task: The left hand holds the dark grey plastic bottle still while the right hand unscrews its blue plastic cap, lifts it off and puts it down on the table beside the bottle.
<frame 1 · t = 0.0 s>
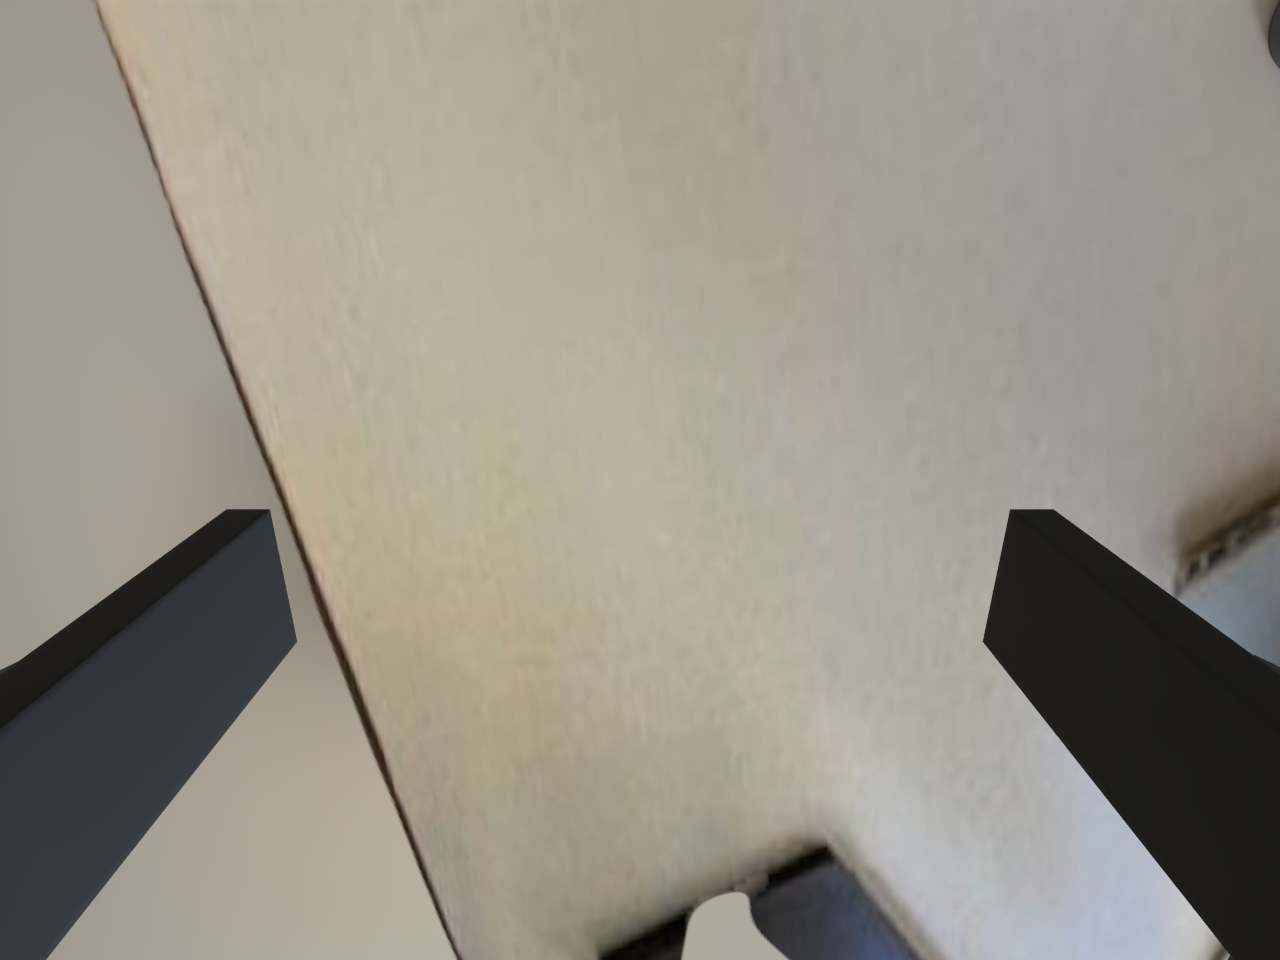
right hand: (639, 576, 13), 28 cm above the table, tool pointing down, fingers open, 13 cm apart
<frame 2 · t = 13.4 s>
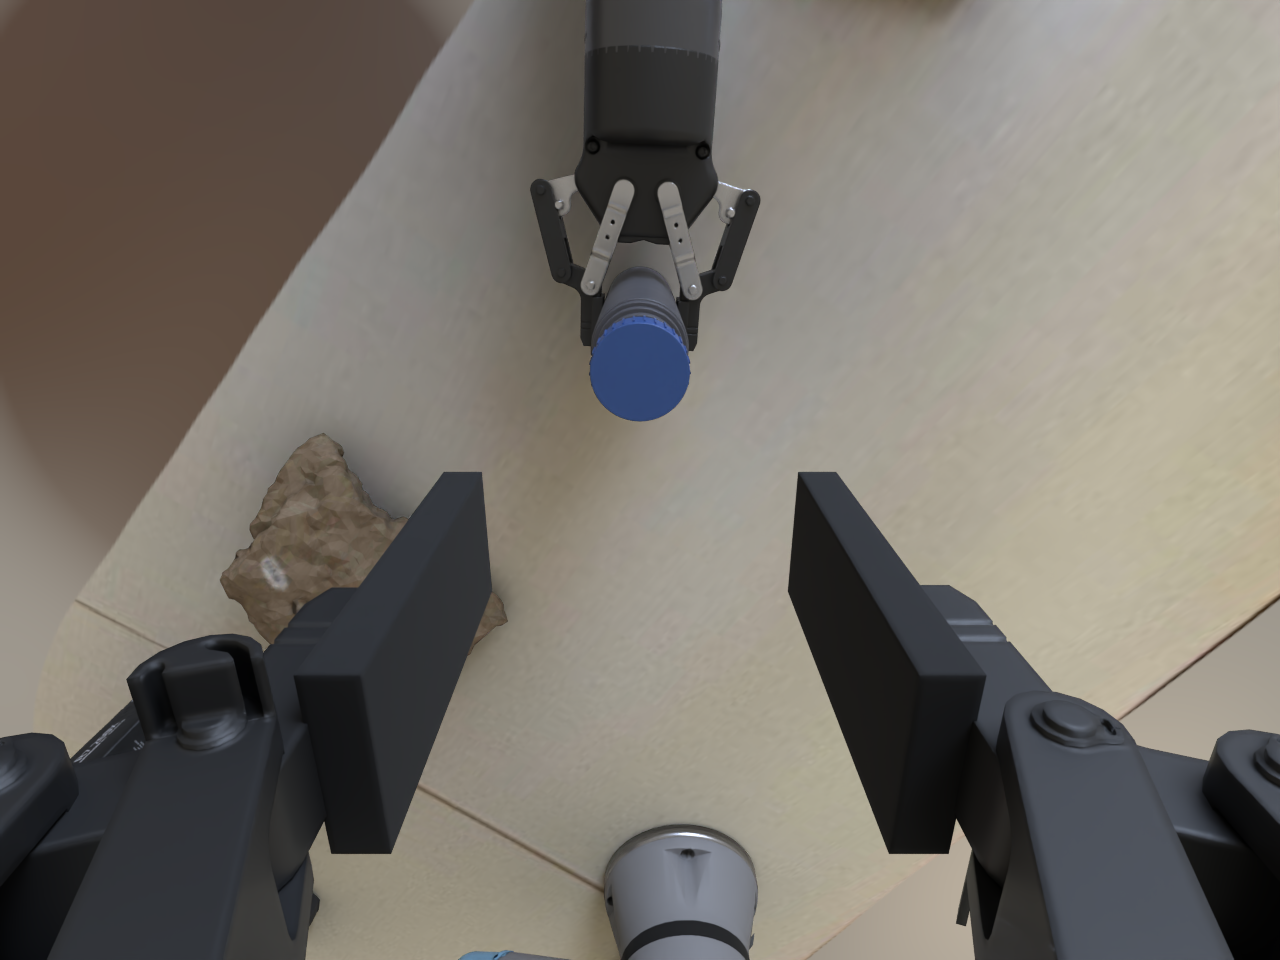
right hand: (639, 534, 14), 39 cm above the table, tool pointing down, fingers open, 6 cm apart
left hand: (638, 354, 46), fingers closed on bottle, 4 cm apart
cap: (639, 371, 29), point 24 cm above the table, screwed on, not yet turned
graphics card box: (235, 734, 65), on the table
stone: (376, 566, 59), on the table
bottle: (640, 300, 51), on the table, touching left hand
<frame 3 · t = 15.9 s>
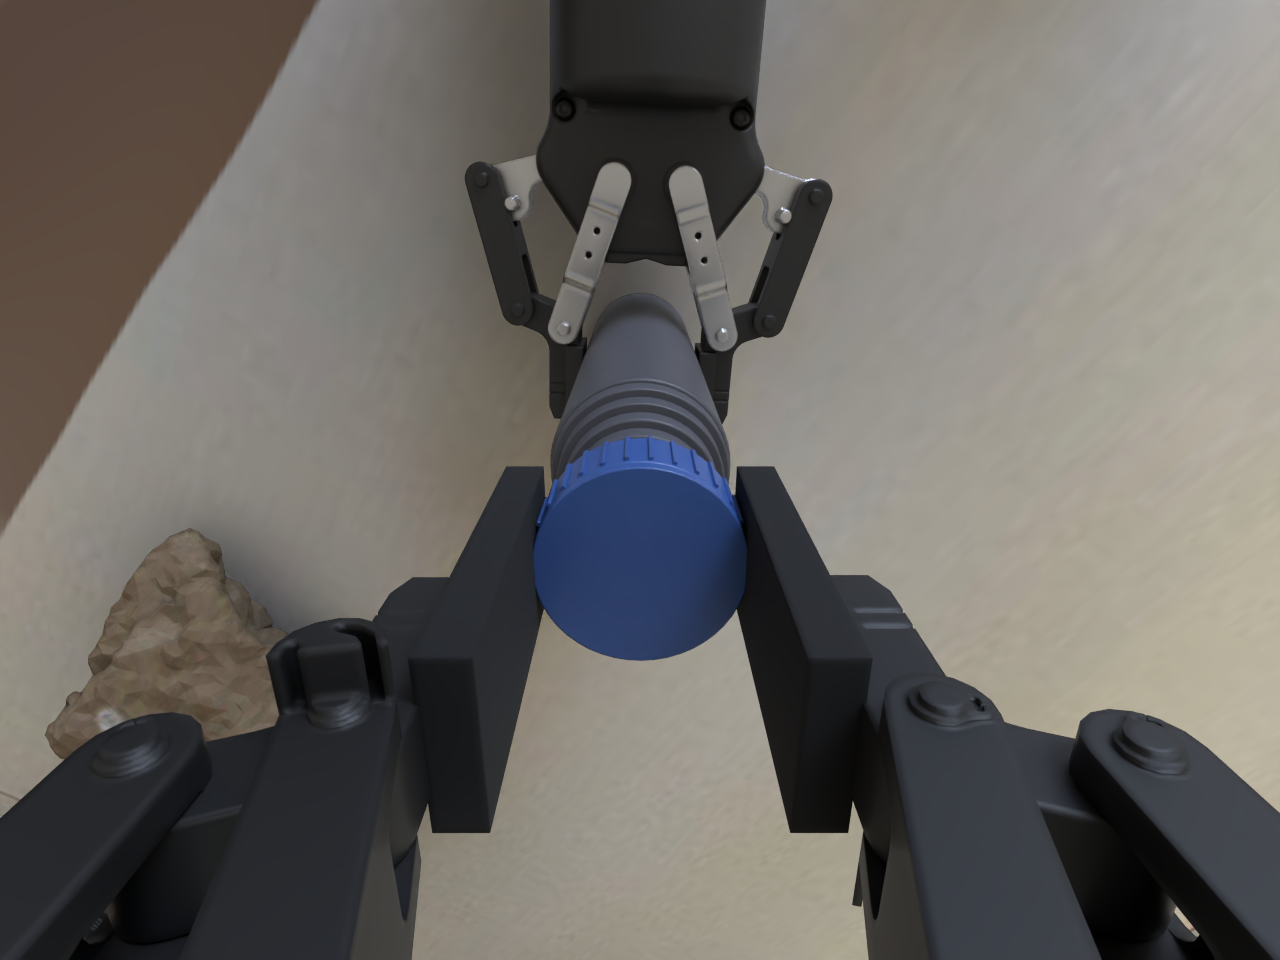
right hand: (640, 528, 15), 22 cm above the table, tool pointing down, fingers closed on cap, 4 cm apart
left hand: (638, 428, 30), fingers closed on bottle, 4 cm apart
cap: (640, 562, 13), point 24 cm above the table, screwed on, not yet turned, touching right hand
stone: (282, 694, 43), on the table
bottle: (640, 340, 35), on the table, touching left hand
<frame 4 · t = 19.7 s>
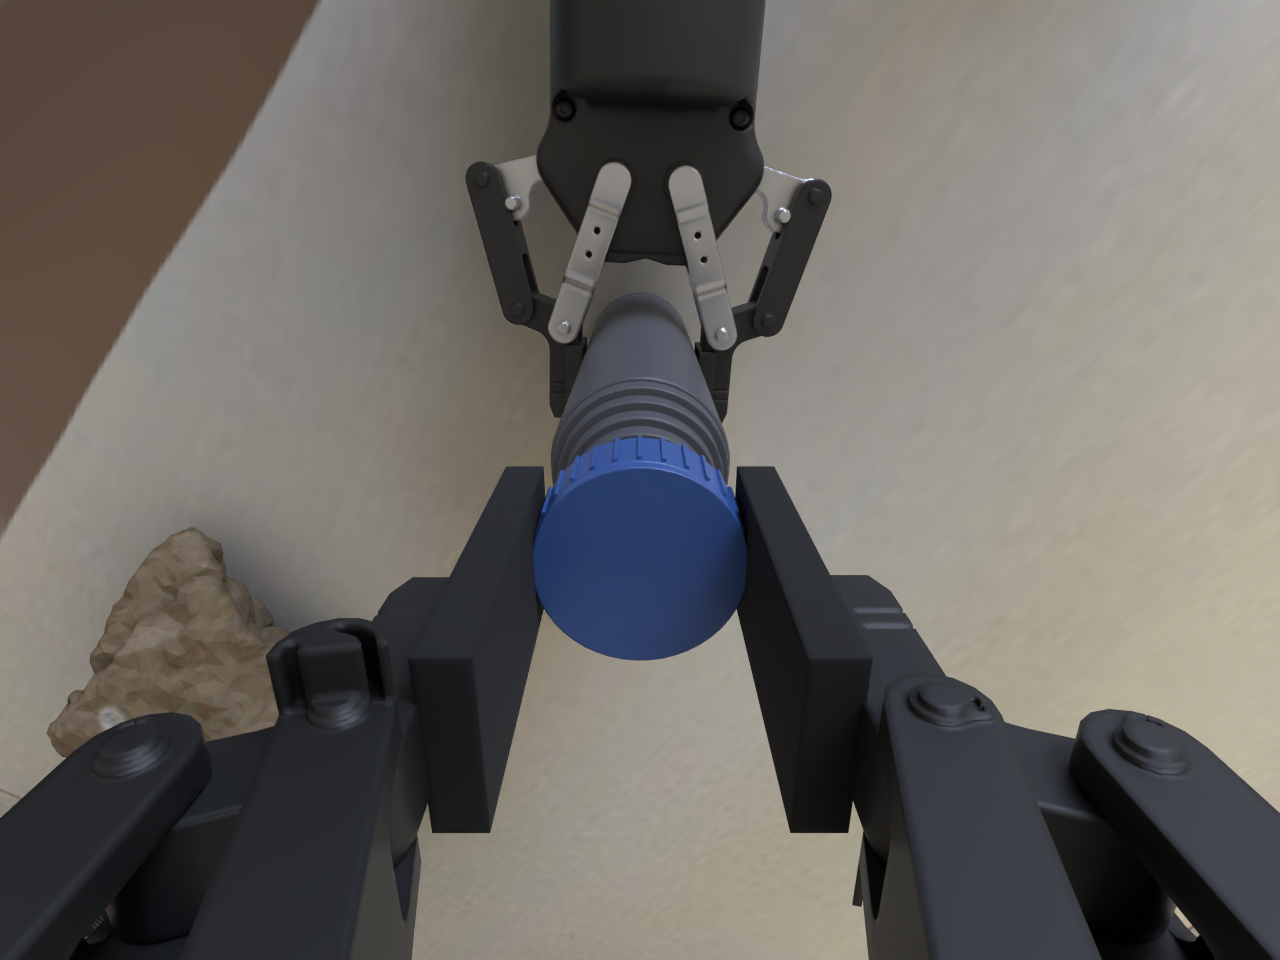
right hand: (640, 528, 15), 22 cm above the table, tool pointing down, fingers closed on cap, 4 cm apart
left hand: (638, 427, 30), fingers closed on bottle, 4 cm apart
cap: (640, 561, 13), point 24 cm above the table, turned 117° so far, risen 0.1 cm, still on its thread, touching right hand
stone: (283, 693, 43), on the table
bottle: (640, 340, 35), on the table, touching left hand
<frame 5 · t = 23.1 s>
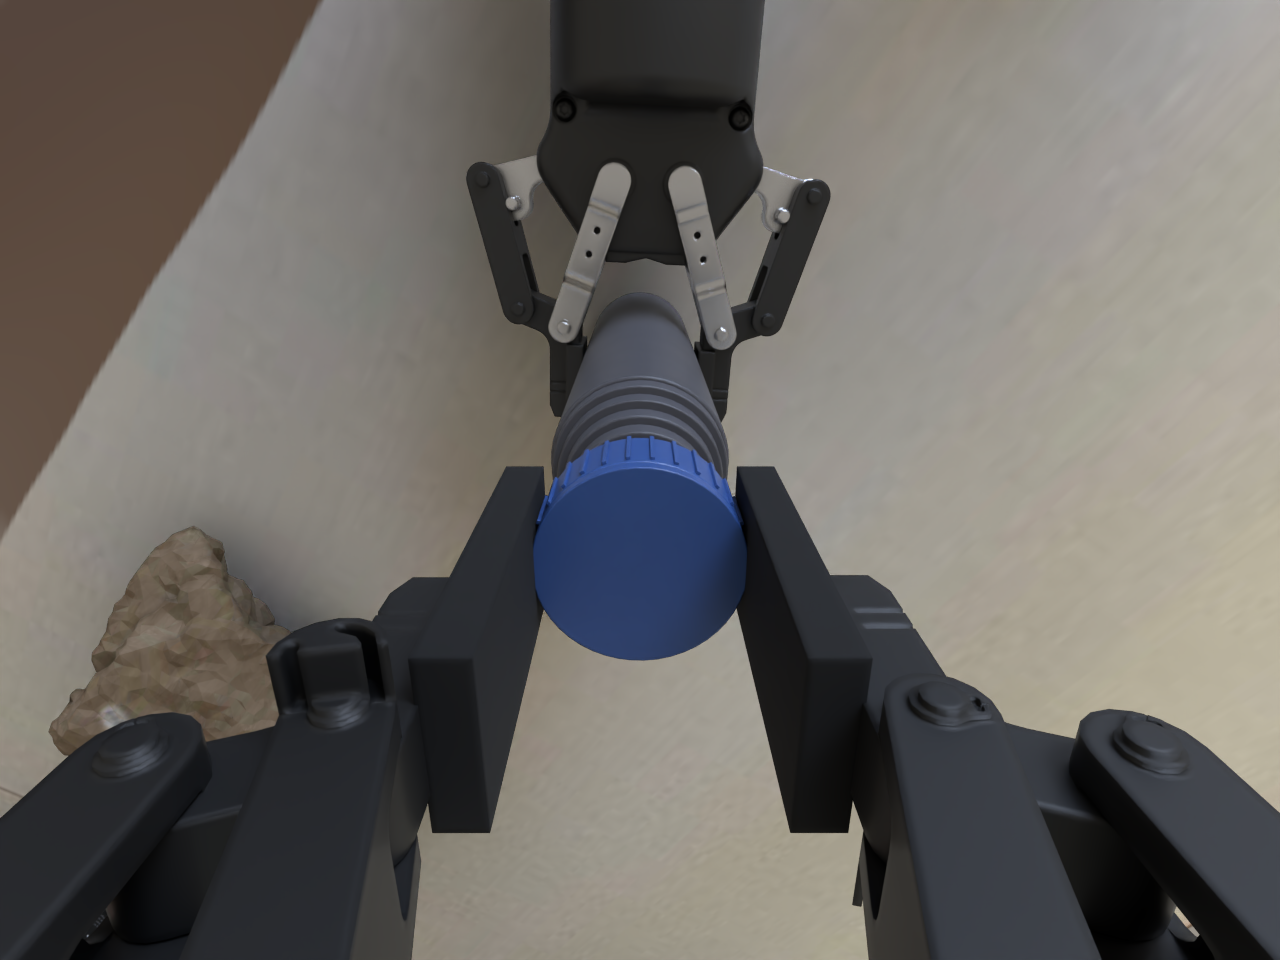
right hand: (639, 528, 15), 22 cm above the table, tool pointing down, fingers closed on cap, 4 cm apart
left hand: (637, 427, 31), fingers closed on bottle, 4 cm apart
cap: (639, 562, 13), point 24 cm above the table, turned 235° so far, risen 0.3 cm, still on its thread, touching right hand
stone: (284, 692, 43), on the table
bottle: (640, 339, 36), on the table, touching left hand
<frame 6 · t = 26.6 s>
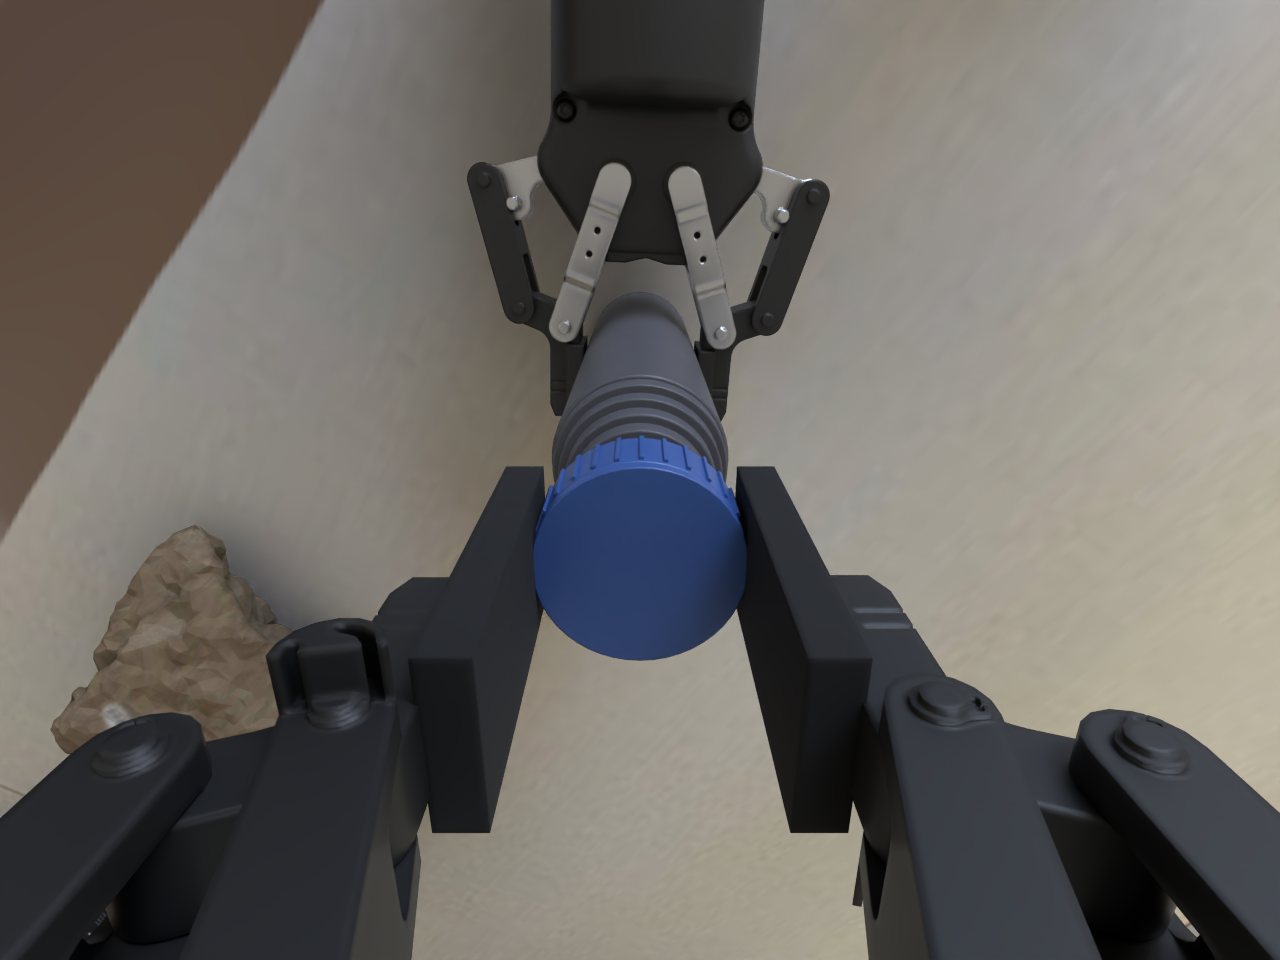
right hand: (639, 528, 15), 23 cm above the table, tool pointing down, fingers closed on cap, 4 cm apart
left hand: (638, 426, 31), fingers closed on bottle, 4 cm apart
cap: (640, 562, 13), point 24 cm above the table, turned 352° so far, risen 0.4 cm, still on its thread, touching right hand
stone: (285, 690, 43), on the table
bottle: (640, 339, 36), on the table, touching left hand
when the right hand's fingers open (2 cm above the table, at t = 35.3 s): cap drops 2 cm, point 1 cm above the table.
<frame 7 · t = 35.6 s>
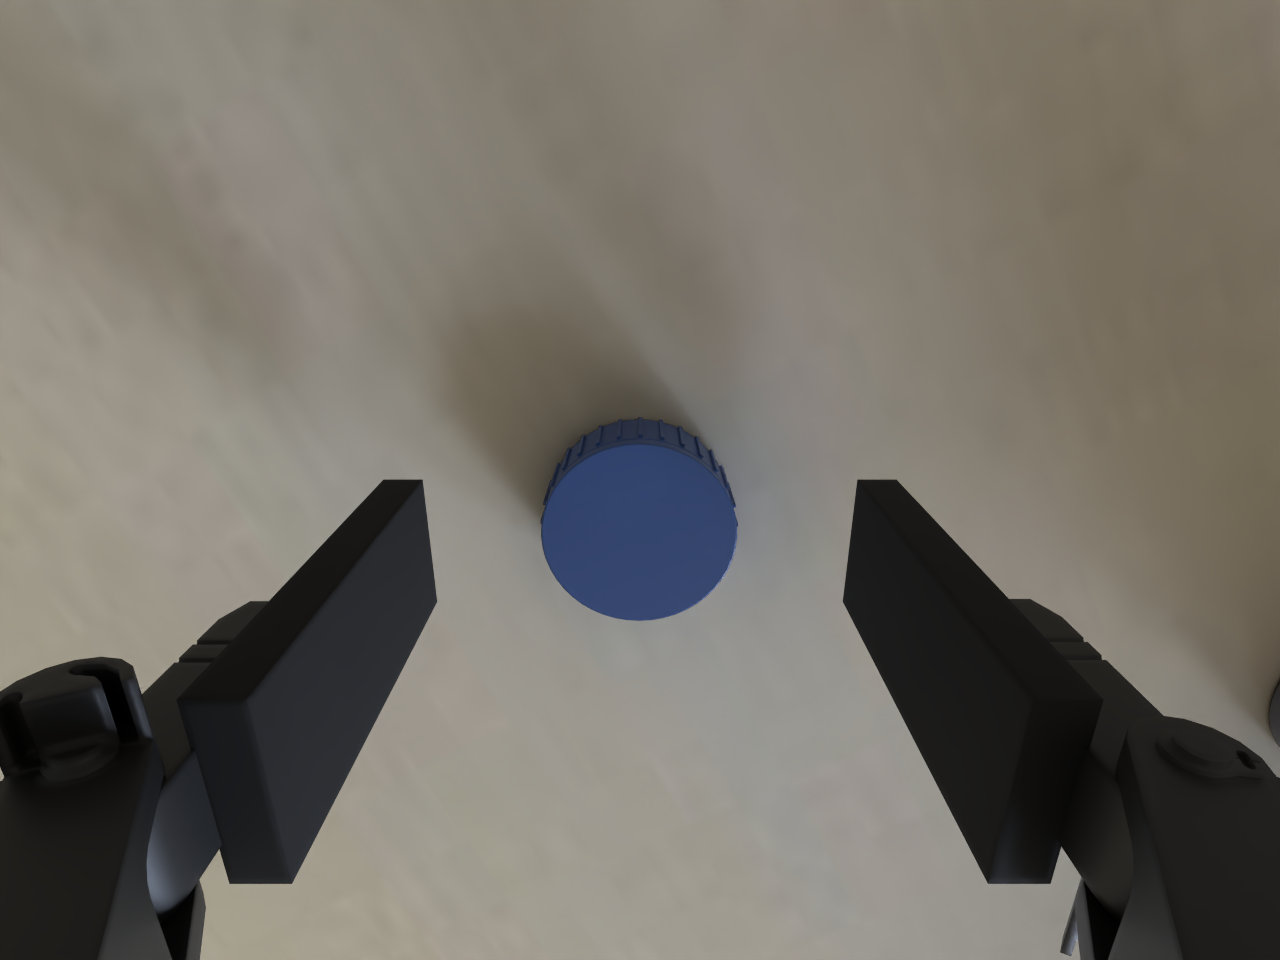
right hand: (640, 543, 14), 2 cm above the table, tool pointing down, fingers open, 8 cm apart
cap: (639, 530, 15), point 1 cm above the table, off its thread
when the left hand's fingers open (6 cm above the table, at t = 36.6 s): bottle stays where it is, on the table.
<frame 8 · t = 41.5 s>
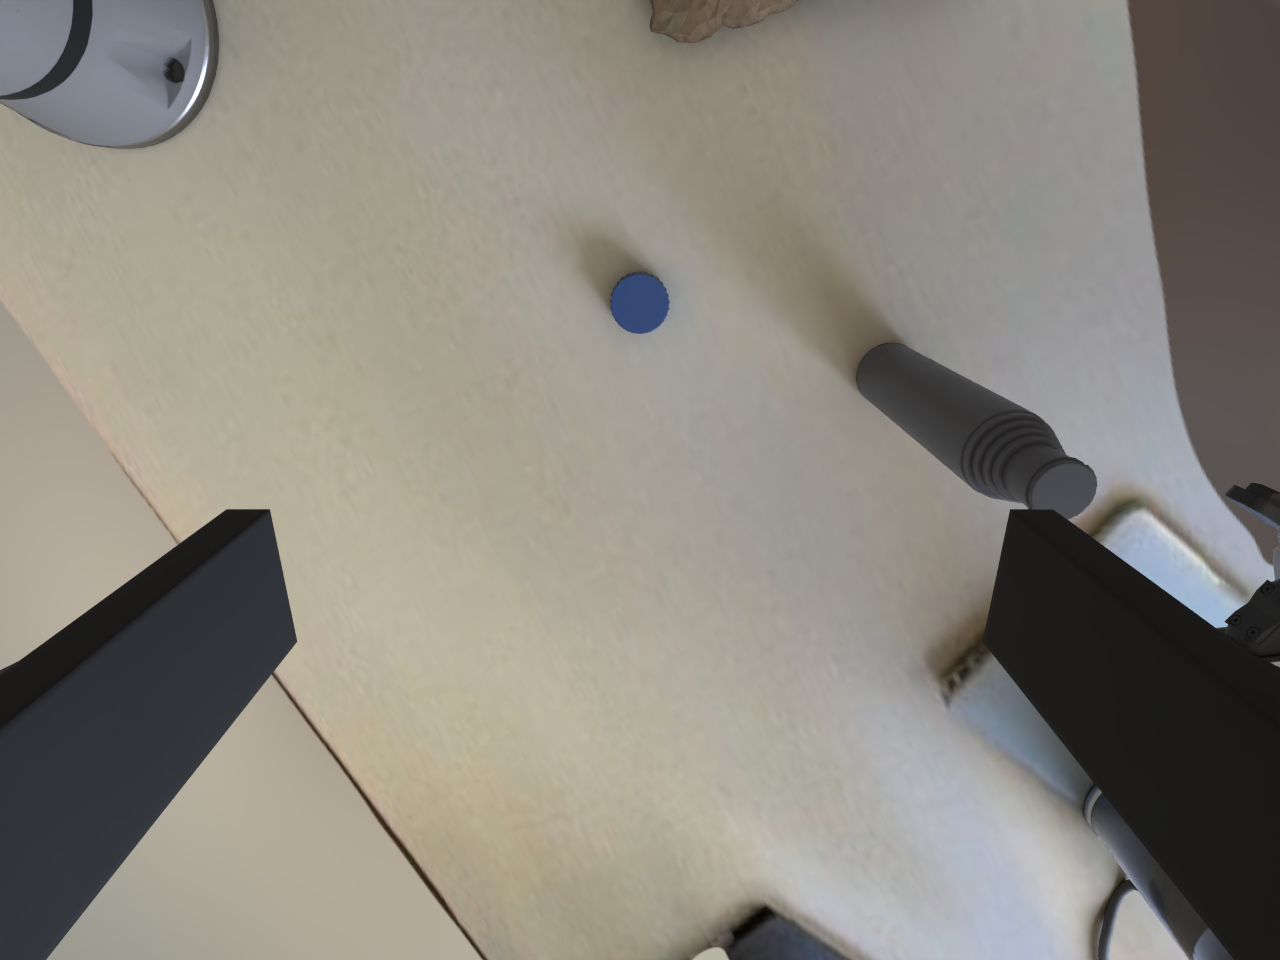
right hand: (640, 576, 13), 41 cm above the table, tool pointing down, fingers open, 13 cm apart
cap: (639, 304, 49), point 1 cm above the table, off its thread
bottle: (887, 373, 53), on the table
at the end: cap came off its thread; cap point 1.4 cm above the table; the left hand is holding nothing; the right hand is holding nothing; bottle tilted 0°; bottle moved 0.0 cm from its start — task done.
